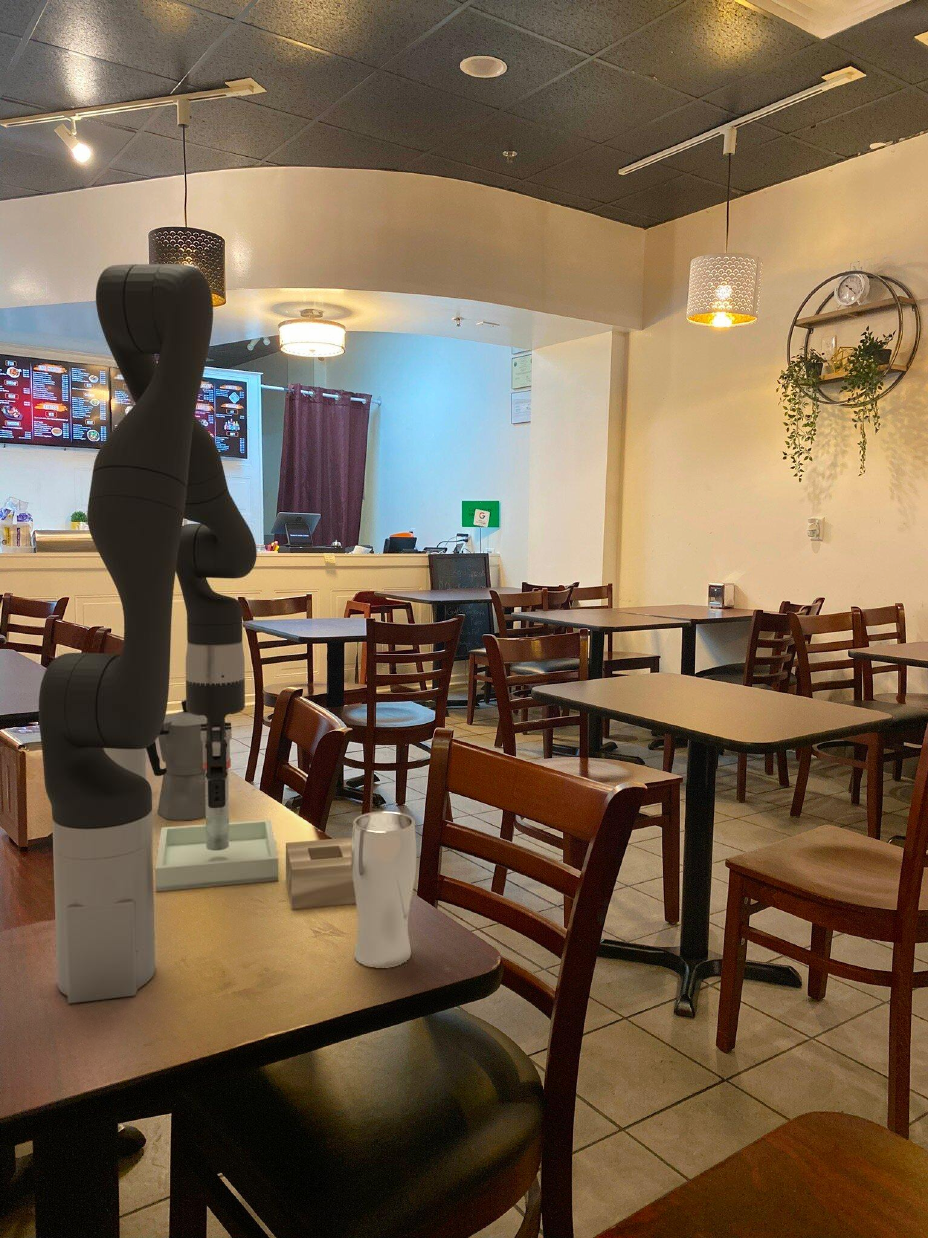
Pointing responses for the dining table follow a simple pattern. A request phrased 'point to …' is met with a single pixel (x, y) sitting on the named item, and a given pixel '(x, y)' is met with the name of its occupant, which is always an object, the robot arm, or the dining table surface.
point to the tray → (216, 857)
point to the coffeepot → (180, 767)
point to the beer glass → (383, 886)
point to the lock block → (319, 873)
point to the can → (129, 759)
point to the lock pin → (217, 816)
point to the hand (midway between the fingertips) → (216, 802)
